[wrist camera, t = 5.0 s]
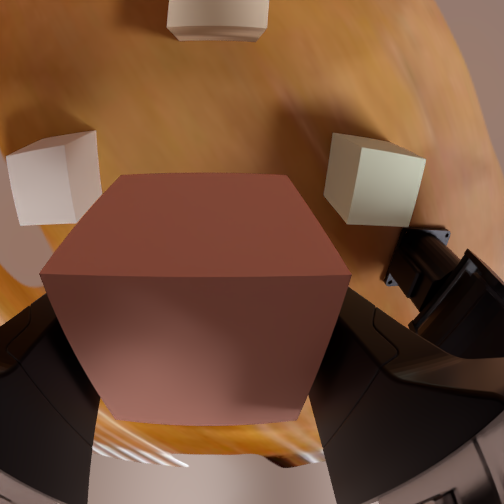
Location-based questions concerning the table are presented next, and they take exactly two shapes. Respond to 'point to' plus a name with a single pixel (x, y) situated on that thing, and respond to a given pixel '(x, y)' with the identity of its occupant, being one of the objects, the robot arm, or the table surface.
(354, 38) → the table surface
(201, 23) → the ash block
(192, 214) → the brick-red block
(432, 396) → the robot arm
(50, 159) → the pale grey block
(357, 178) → the sage green block
